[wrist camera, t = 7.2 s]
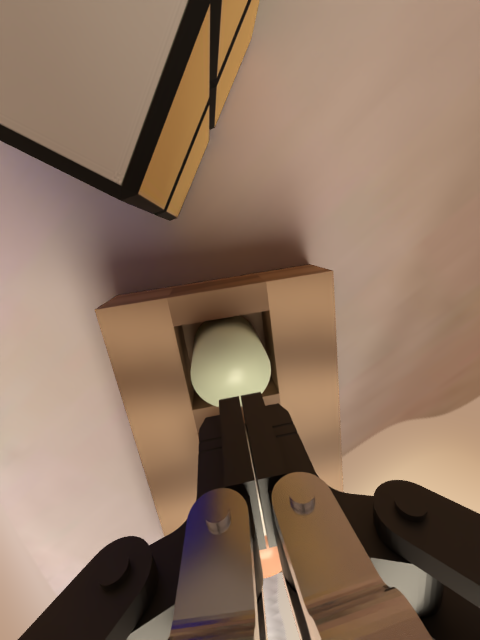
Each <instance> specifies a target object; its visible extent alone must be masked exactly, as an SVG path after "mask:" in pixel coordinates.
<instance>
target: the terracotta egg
mask: <svg viewBox="0 0 480 640" xmlns="http://www.w3.org/2000/svg"><path fill="white" fill-rule="evenodd" d="M265 542H266V548H267V549H263V550H259V552H260V559H261V565H262V571H263V578H267V577H271V576H273V575H275V574H277V573H279V572H281V571H282V567H281V562H280V558H279V553H278V549H277V546H275V547H271V548H269V545H268V540H267V535H266V536H265Z"/></svg>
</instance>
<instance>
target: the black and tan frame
mask: <svg viewBox="0 0 480 640" xmlns="http://www.w3.org/2000/svg"><path fill="white" fill-rule="evenodd" d="M259 1H260V0H0V141H2V142H4V143H6V144H9V145H11V146H13V147H15V148H17V149H19V150H21V151H23V152H25V153H27V154H29V155H31V156H33V157H35V158H37V159H39V160H41V161H43V162H45V163H47V164H49V165H51V166H53V167H55V168H57V169H59V170H61V171H63V172H65V173H67V174H69V175H71V176H73V177H75V178H77V179H79V180H81V181H83V182H85V183H87V184H89V185H91V186H93V187H95V188H97V189H99V190H101V191H103V192H105V193H107V194H109V195H111V196H113V197H115V198H117V199H119V200H121V201H123V202H126V203H128V204H131V205H133V206H135V207H138V208H140V209H143V210H145V211H148V212H150V213H152V214H155V215H157V216H160V217H162V218H165V219H168V220H172V219H175V218H177V217H178V215H179V212H180V210H181V208H182V205H183V203H184V200H185V198H186V195H187V193H188V191H189V188H190V186H191V183H192V181H193V178H194V176H195V174H196V171H197V169H198V166H199V164H200V161H201V159H202V157H203V154H204V152H205V149H206V147H207V144H208V142H209V129H212V128H215V125H216V123H217V120H218V118H219V116H220V113H221V111H222V108H223V106H224V103H225V101H226V99H227V96H228V94H229V91H230V89H231V86H232V84H233V82H234V79H235V77H236V74H237V72H238V69H239V67H240V65H241V62H242V60H243V57H244V55H245V52H246V50H247V48H248V45H249V43H250V40H251V37H252V33H253V28H254V24H255V19H256V14H257V10H258V5H259Z"/></svg>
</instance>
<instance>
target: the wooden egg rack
mask: <svg viewBox="0 0 480 640" xmlns="http://www.w3.org/2000/svg"><path fill="white" fill-rule="evenodd" d="M95 312H96V316H97V319H98V322H99V325H100V329H101V332H102V335H103V338H104V342H105V345H106V348H107V351H108V355H109V358H110V361H111V364H112V367H113V371H114V374H115V377H116V380H117V384H118V387H119V390H120V393H121V397H122V400H123V403H124V406H125V410H126V413H127V416H128V419H129V423H130V426H131V429H132V432H133V436H134V439H135V442H136V445H137V449H138V452H139V455H140V458H141V461H142V465H143V468H144V471H145V474H146V478H147V481H148V484H149V487H150V491H151V494H152V497H153V500H154V504H155V507H156V510H157V513H158V517H159V520H160V523H161V526H162V530H163V533H164V536H167V535H169V534H170V533H172V532H174V531H175V530H176V529H178V528H179V527H180V526H181V525H182V524H183V523H184V522H185V521H186V520H187V518H188V514H189V512H190V509H191V508H192V506H193V504H194V503H195V502H196V498H197V476H198V454H199V452H198V450H199V429H200V427H201V425H202V423H203V422H204V420H205V418H206V417H211V416H216V415H220V413H219V407H217V406H214V405H211V404H209V403H208V402H206V401H205V400H203V399H202V398H201V397H200V396H199V395H198V394H197V392H196V391H195V389H194V387H193V385H192V381H191V364H192V356H193V348H194V341H195V336H196V333H197V331H198V329H199V327H200V326H201V325H202V324H203V323H204V322H205V321H209V320H215V319H221V318H227V317H233V316H241V317H243V318H244V319H246V320H247V321H248V322H249V323H250V324H251V325H252V326H253V328H254V330H255V331H256V333H257V335H258V337H259V339H260V341H261V343H262V345H263V347H264V349H265V351H266V353H267V355H268V358H269V360H270V365H271V375H270V380H269V382H268V385H267V387H266V389H265V390H264V391H263V393H262V397H263V400H264V403H265V406H267V405H272V404H277V403H279V404H280V405H281V406H282V407H284V408H285V409H286V410H287V411H288V412H289V414H290V416H291V418H292V421H293V424H294V425H295V427H296V430H297V433H298V434H299V436H300V439H301V441H302V443H303V445H304V447H305V450H306V452H307V454H308V456H309V459H310V461H311V463H312V465H313V467H314V470H315V472H316V474H317V475H318V476H319V478H320V479H322V480H323V481H324V482H325V483H326V484H327V485H328V486H330V487H331V488H333V489H335V490H338V491H340V492H343V473H342V451H341V429H340V408H339V386H338V365H337V343H336V321H335V300H334V278H333V271H332V270H328V269H325V268H321V267H317V266H314V265H310V264H309V265H303V266H297V267H290V268H284V269H278V270H272V271H266V272H259V273H253V274H247V275H241V276H235V277H228V278H222V279H216V280H210V281H204V282H197V283H191V284H185V285H179V286H173V287H166V288H160V289H154V290H148V291H142V292H135V293H129V294H123V295H117V296H115V297H114V298H112V299H111V300H109V301H108V302H106V303H105V304H103V305H101V306H100V307H98V308H97V309H95ZM241 410H242V415H243V420H244V423H245V419H244V413H243V407H242V406H241ZM281 572H282V571H281ZM279 573H280V572H279Z"/></svg>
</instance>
